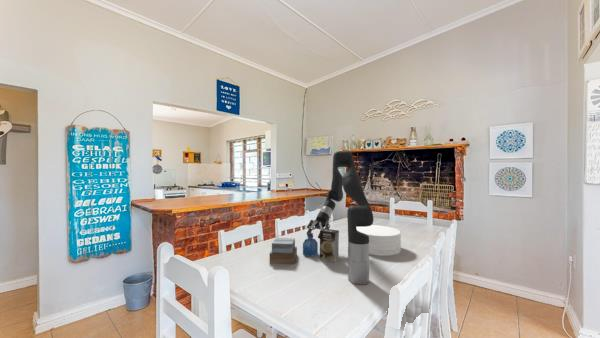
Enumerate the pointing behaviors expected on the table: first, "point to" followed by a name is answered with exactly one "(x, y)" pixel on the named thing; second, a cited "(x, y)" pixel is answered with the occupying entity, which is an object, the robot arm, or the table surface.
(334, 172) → the robot arm
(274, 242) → the two-tone square pedestal
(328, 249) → the coffee box
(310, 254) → the perfume bottle
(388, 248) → the white short wide cylinder
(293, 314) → the table surface
